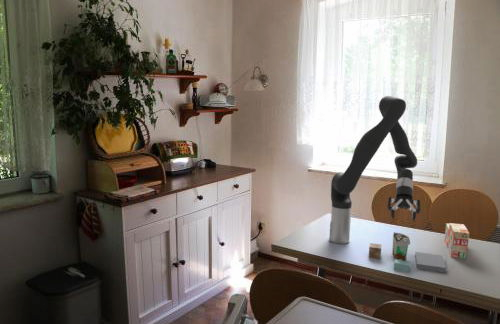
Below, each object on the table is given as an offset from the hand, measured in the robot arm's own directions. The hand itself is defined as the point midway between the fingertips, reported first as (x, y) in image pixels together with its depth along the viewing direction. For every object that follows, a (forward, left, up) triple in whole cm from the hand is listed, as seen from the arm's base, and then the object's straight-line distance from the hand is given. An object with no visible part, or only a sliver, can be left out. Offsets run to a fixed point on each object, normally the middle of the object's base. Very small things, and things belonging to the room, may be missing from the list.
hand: (403, 219), depth 189 cm
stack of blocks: (+24, +10, -15) cm, 30 cm away
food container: (0, -12, -15) cm, 19 cm away
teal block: (0, -22, -15) cm, 27 cm away
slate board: (+11, -13, -15) cm, 22 cm away
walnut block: (-11, -13, -15) cm, 22 cm away
